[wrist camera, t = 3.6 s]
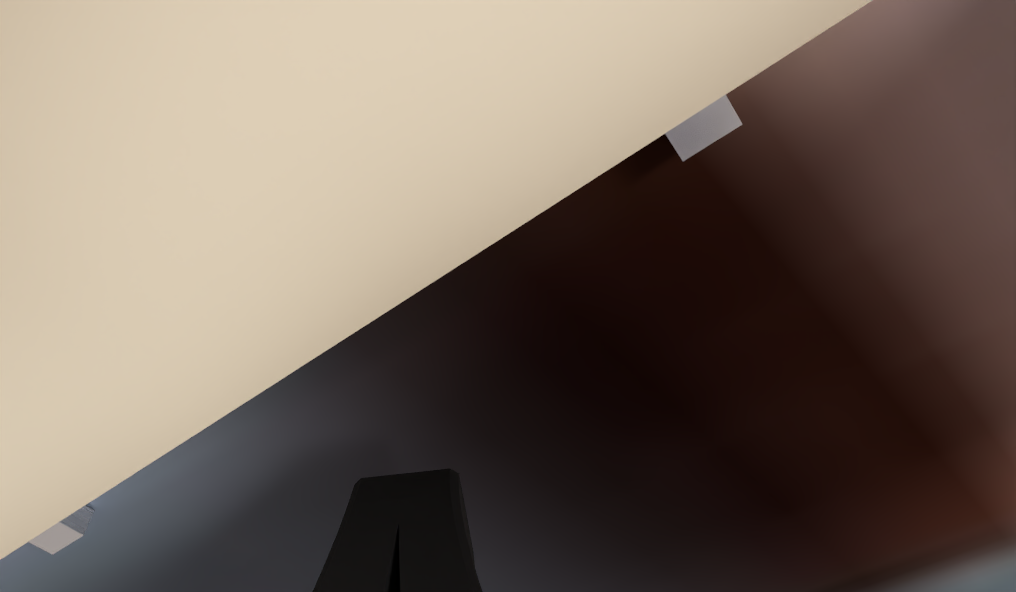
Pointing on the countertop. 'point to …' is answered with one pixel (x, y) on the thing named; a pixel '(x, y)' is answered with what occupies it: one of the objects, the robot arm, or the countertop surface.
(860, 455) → the countertop surface
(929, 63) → the countertop surface
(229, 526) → the countertop surface
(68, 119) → the cream rectangular box
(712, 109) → the track
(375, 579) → the robot arm
